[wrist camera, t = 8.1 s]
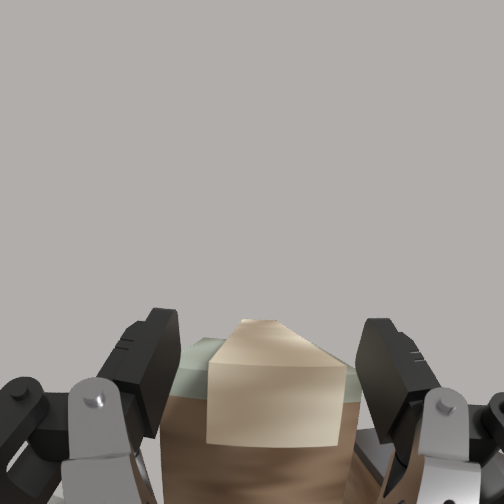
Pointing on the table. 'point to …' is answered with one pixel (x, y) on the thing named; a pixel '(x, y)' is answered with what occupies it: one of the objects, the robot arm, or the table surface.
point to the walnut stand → (245, 449)
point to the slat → (273, 390)
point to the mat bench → (374, 468)
